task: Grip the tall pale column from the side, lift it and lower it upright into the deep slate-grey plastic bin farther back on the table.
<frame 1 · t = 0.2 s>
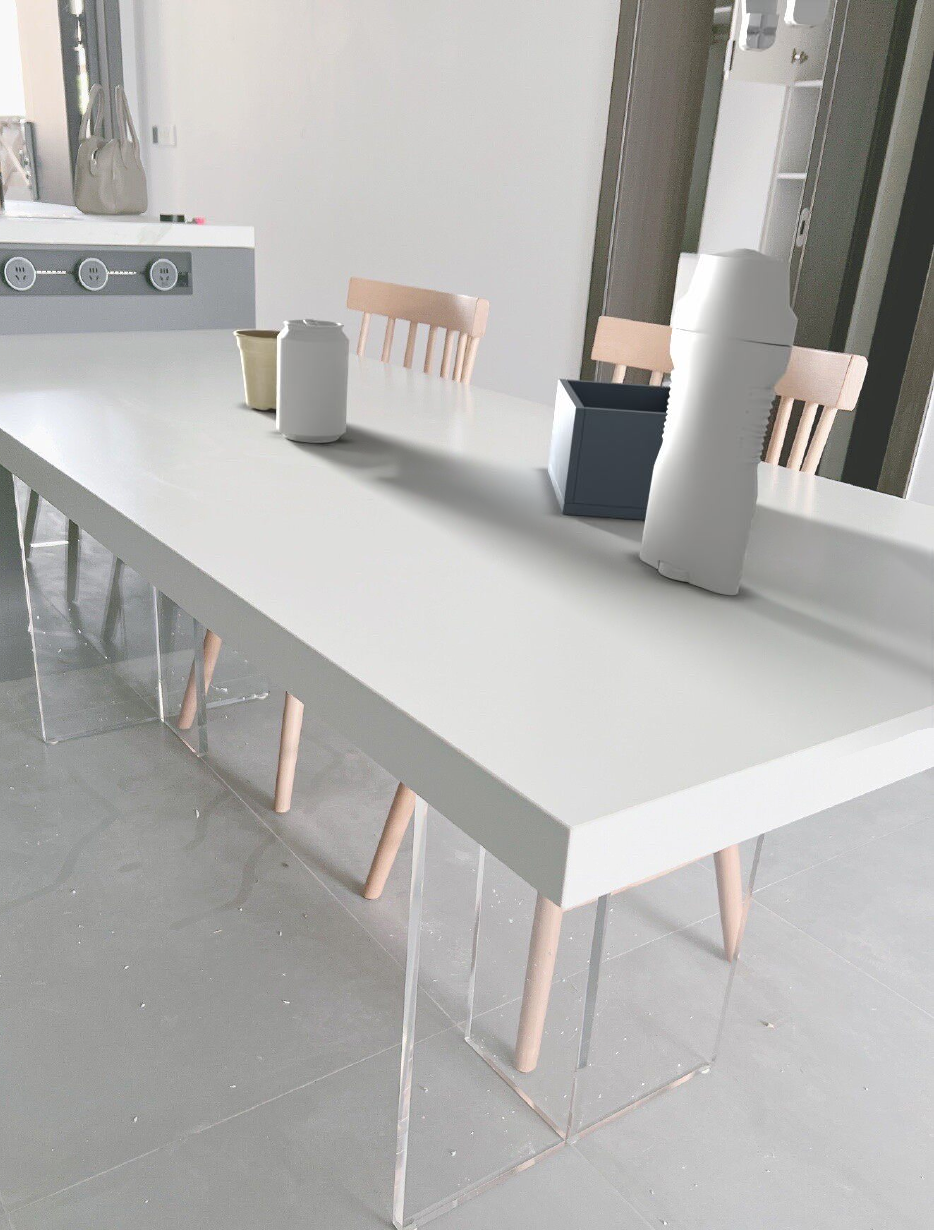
hand: (778, 39, 60), 33 cm above the table, tool pointing down, fingers open, 8 cm apart
can: (311, 439, 116), on the table
tall pale column: (685, 577, 78), on the table
bin: (616, 495, 99), on the table
flower pot: (272, 409, 131), on the table
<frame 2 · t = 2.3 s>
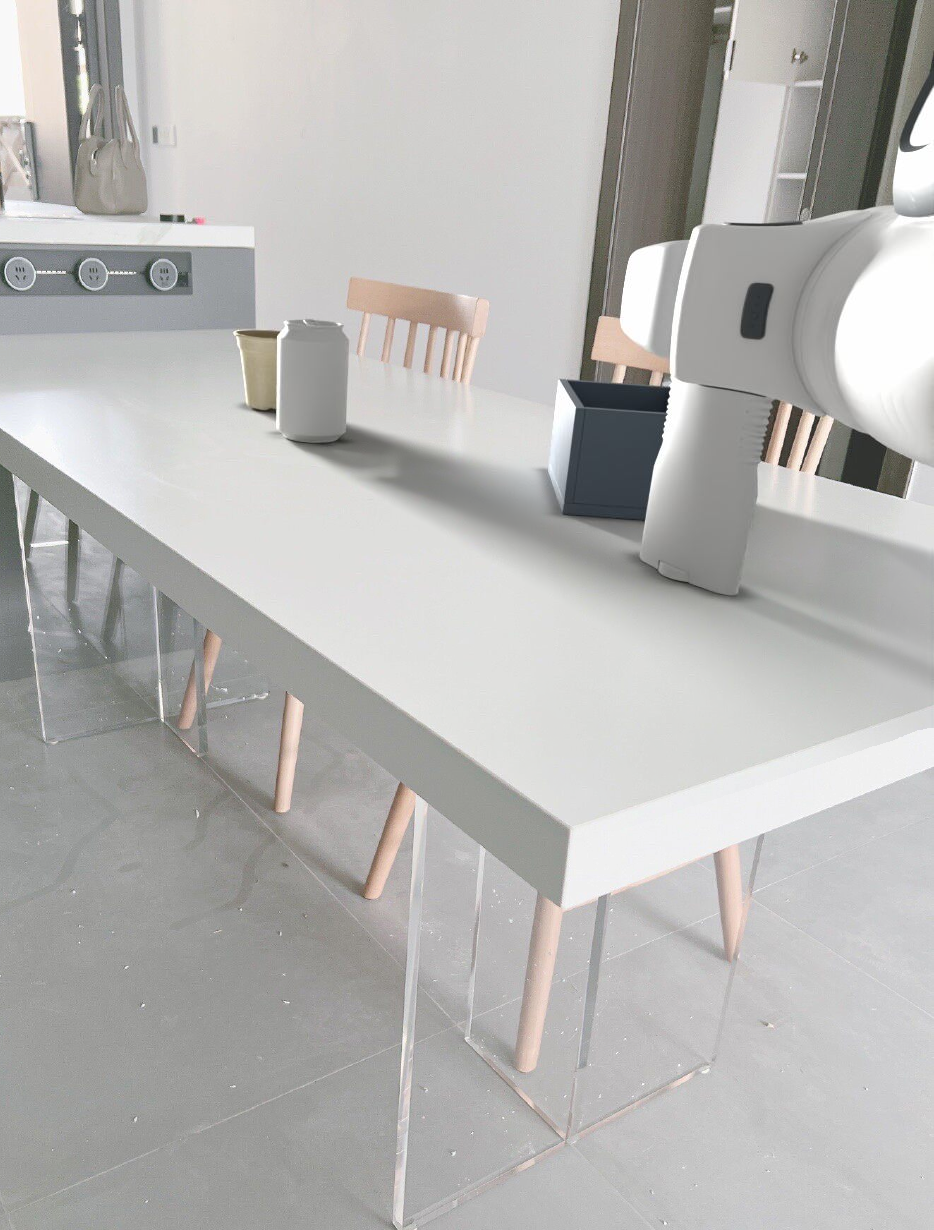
hand: (795, 297, 57), 20 cm above the table, tool horizontal, fingers open, 8 cm apart
nothing on the table moved.
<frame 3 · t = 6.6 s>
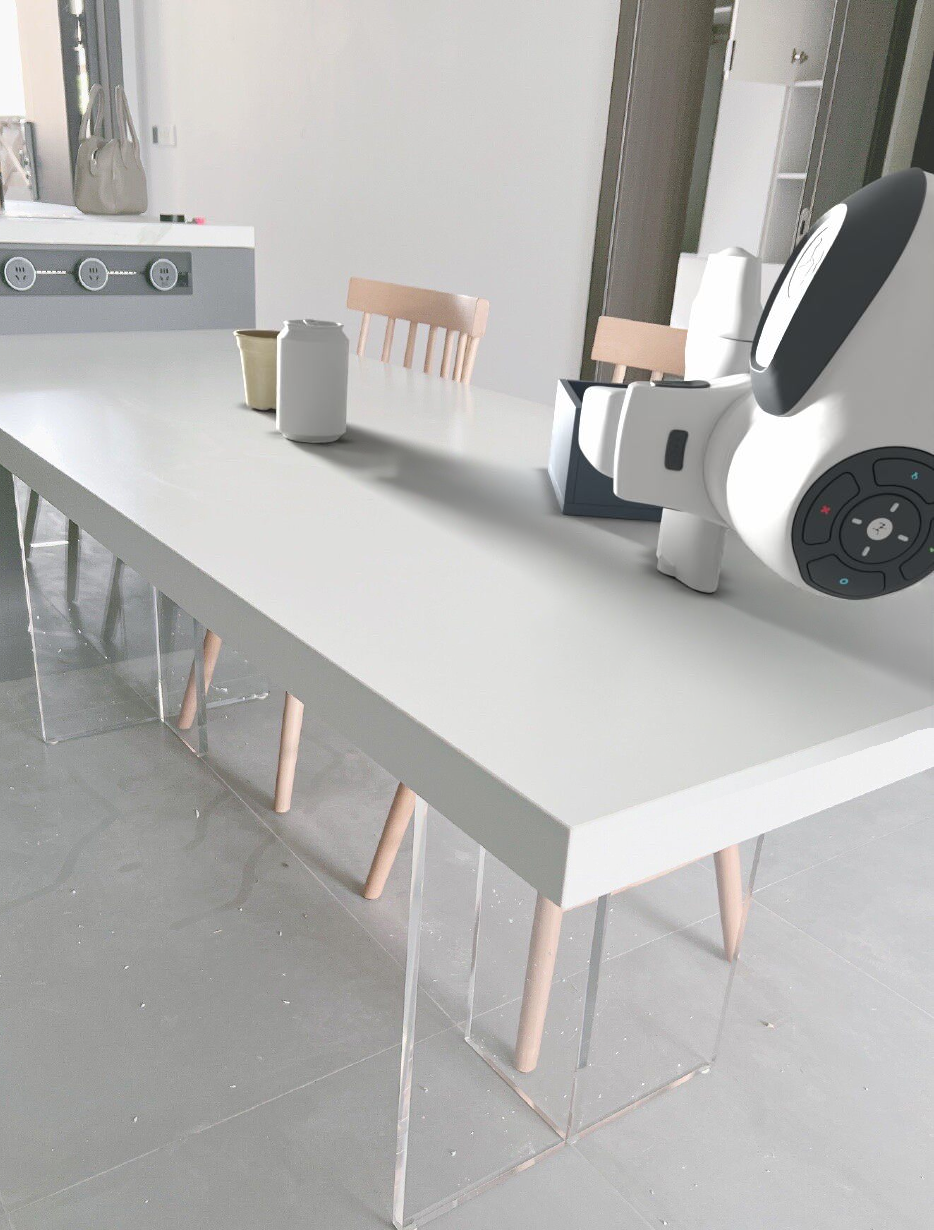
hand: (722, 412, 71), 12 cm above the table, tool horizontal, fingers closed on tall pale column, 2 cm apart
tall pale column: (684, 573, 78), on the table, touching gripper
everything else where it was.
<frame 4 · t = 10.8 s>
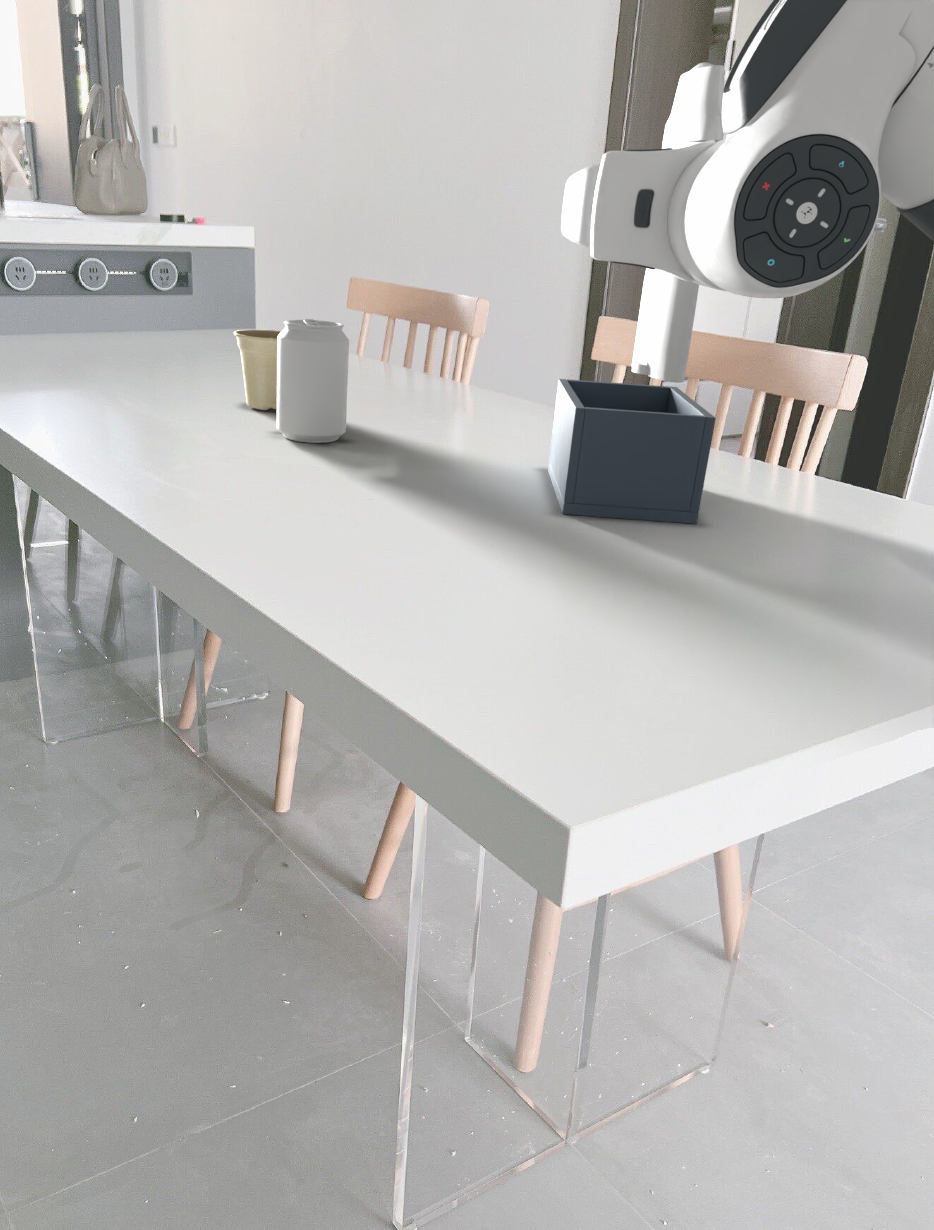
hand: (689, 216, 80), 24 cm above the table, tool horizontal, fingers closed on tall pale column, 2 cm apart
tall pale column: (656, 376, 87), point 12 cm above the table, touching gripper
everything else where it was.
when the fingers open (13 cm above the table, at t = 15.3 s): tall pale column stays where it is, resting on bin.
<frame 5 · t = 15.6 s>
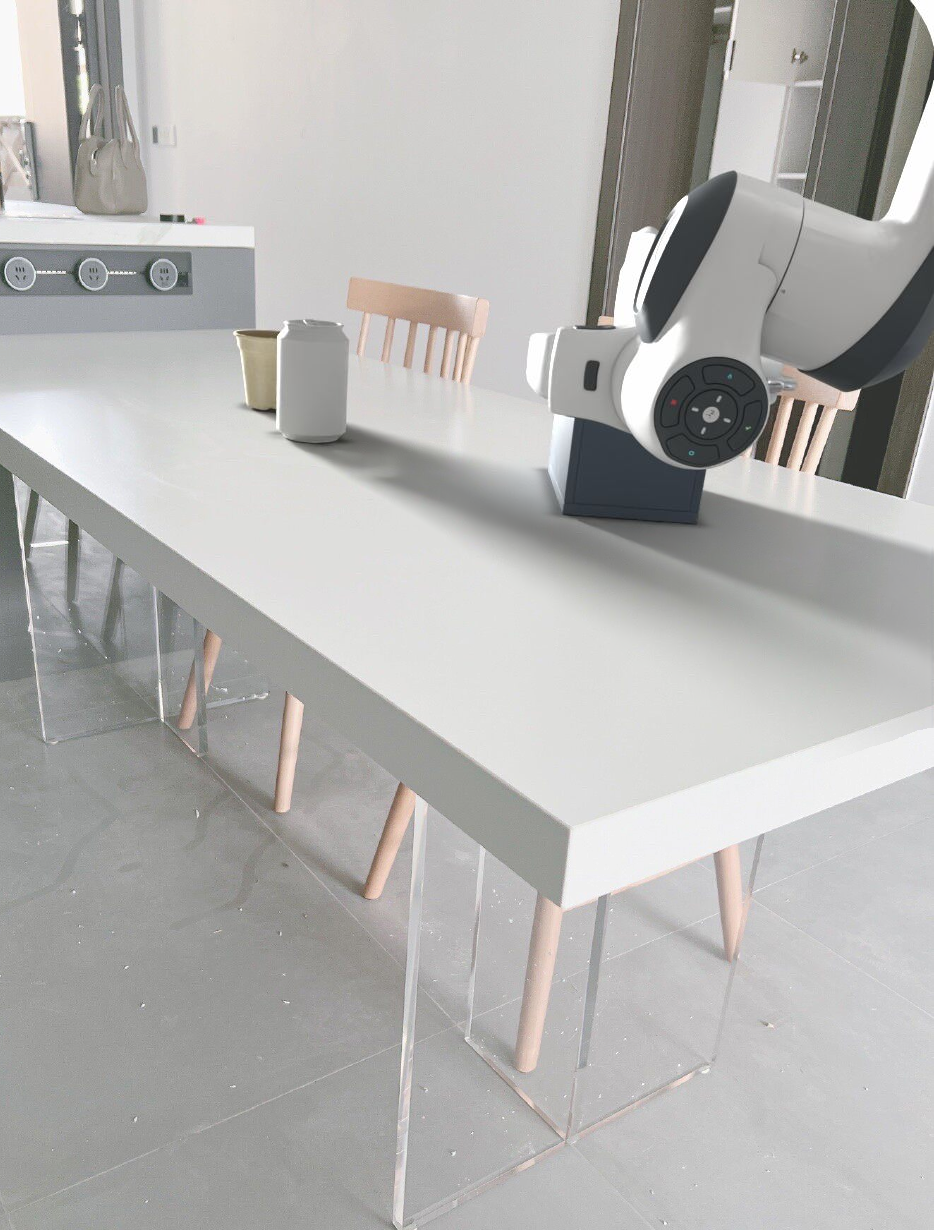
hand: (639, 357, 93), 13 cm above the table, tool horizontal, fingers open, 5 cm apart
tall pale column: (612, 484, 100), point 1 cm above the table, touching bin
everything else where it was.
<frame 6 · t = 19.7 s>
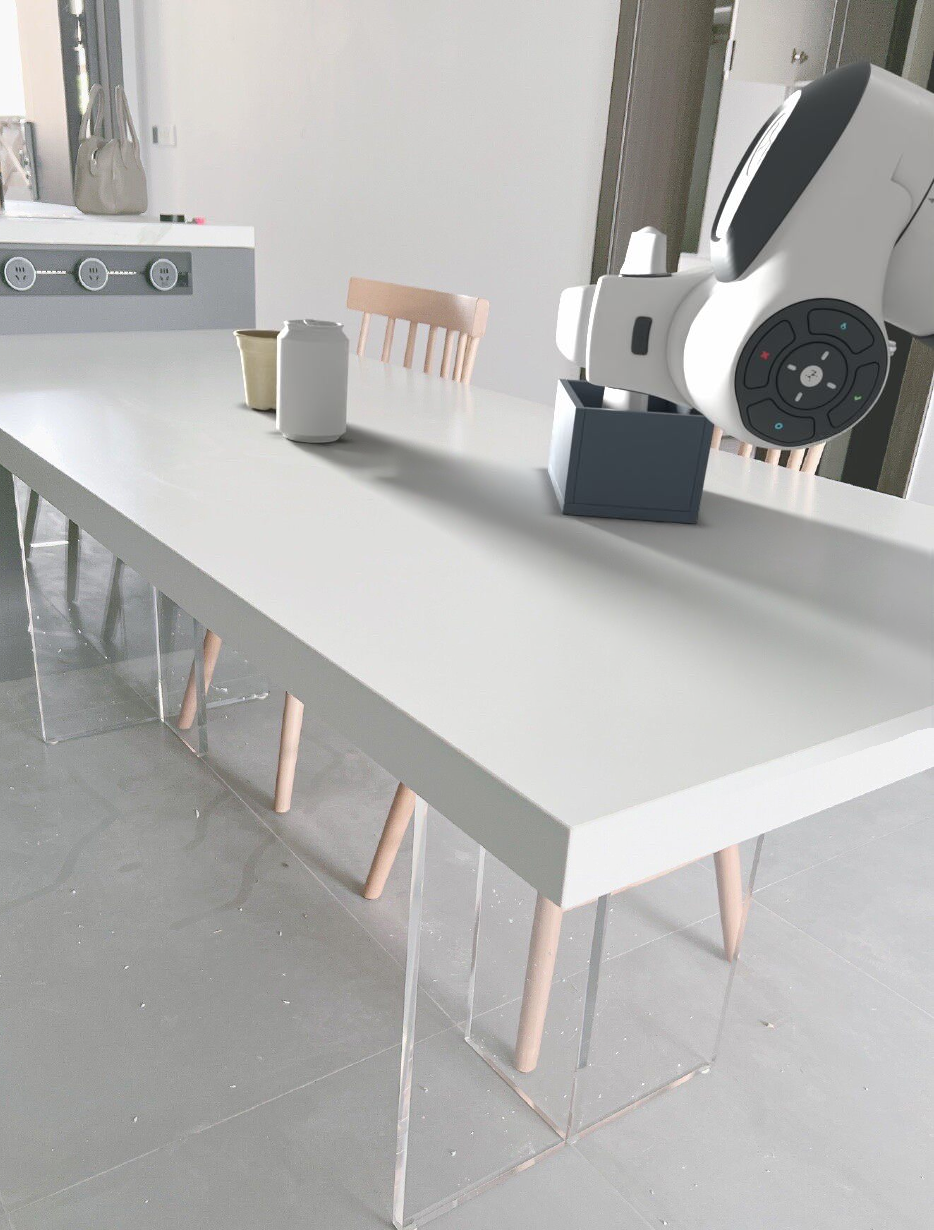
hand: (690, 320, 77), 17 cm above the table, tool horizontal, fingers open, 8 cm apart
nothing on the table moved.
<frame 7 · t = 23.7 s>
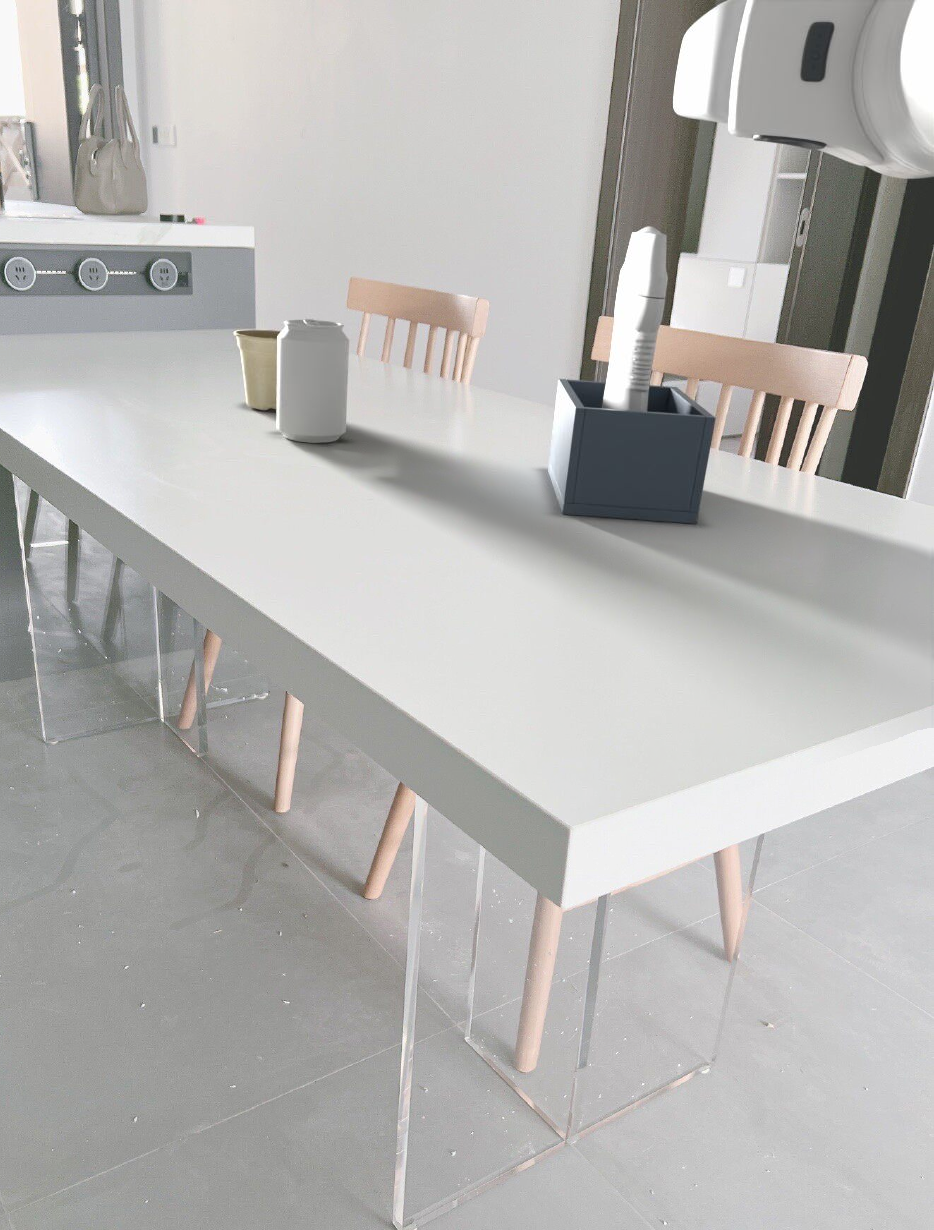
hand: (840, 97, 59), 30 cm above the table, tool horizontal, fingers open, 8 cm apart
nothing on the table moved.
at the end: tall pale column inside the target area in the bin (0.6 cm from its centre), point 0.8 cm above the bin's base; tall pale column tilted 0°; the gripper is holding nothing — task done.
